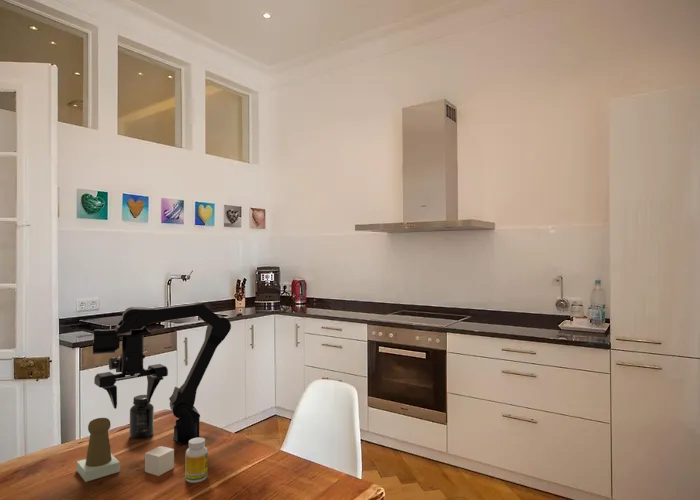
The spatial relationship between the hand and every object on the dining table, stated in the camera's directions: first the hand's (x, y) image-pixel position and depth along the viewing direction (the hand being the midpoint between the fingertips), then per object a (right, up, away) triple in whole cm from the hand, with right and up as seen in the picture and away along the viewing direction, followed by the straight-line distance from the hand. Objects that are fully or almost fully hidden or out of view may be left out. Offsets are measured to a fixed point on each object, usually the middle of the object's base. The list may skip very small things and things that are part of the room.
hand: (132, 404), depth 134 cm
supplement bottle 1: (-2, -13, +11) cm, 17 cm away
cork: (-2, -11, -13) cm, 17 cm away
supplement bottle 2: (+24, -13, -17) cm, 32 cm away
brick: (+13, -13, -12) cm, 22 cm away
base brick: (-2, -13, -13) cm, 19 cm away
